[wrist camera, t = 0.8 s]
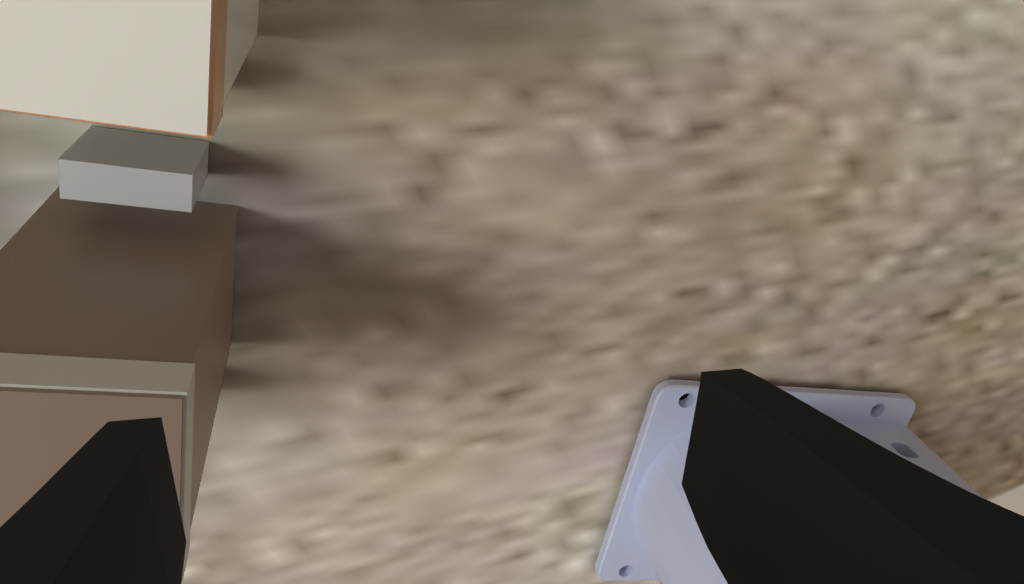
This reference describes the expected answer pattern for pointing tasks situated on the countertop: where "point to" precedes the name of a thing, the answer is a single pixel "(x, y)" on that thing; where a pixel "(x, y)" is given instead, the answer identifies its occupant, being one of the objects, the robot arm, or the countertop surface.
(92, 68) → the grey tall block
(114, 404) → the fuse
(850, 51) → the countertop surface
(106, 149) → the clip block
